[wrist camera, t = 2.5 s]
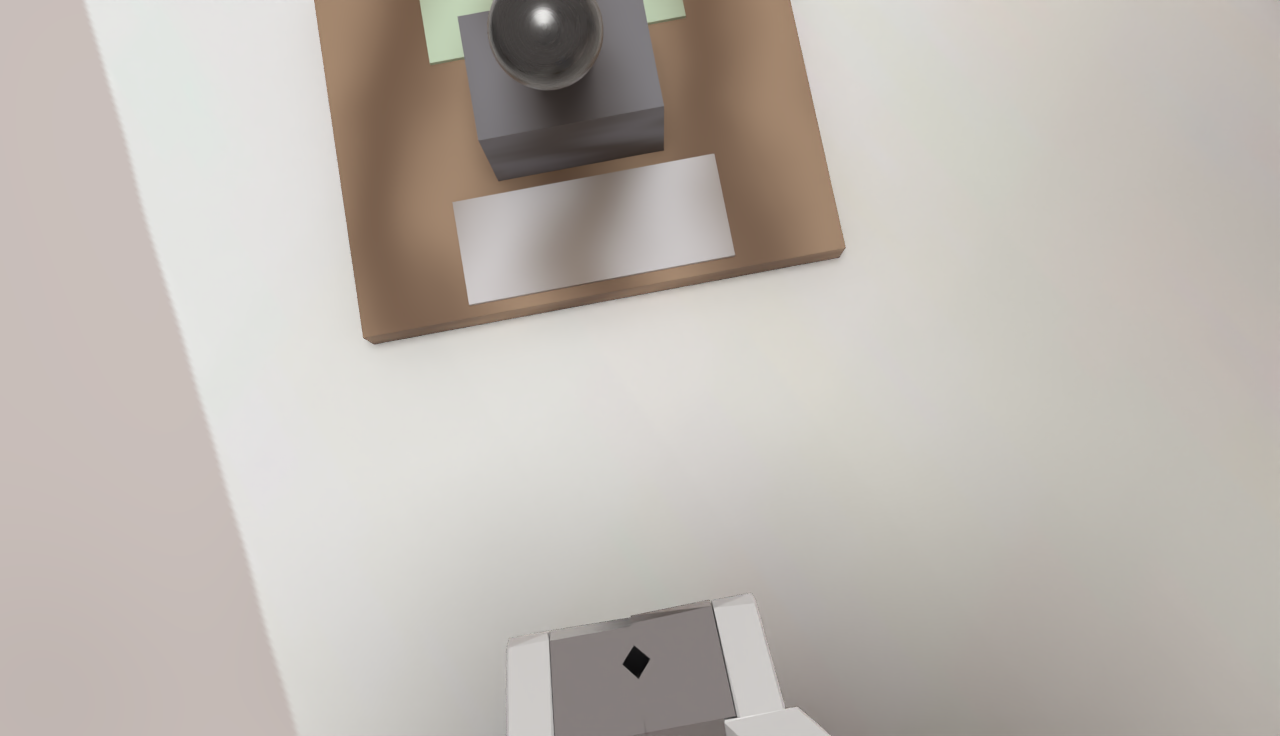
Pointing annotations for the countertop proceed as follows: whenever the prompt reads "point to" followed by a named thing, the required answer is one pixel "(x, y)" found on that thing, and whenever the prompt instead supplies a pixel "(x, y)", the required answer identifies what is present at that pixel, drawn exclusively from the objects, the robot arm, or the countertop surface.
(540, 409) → the countertop surface
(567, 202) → the switch board
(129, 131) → the countertop surface
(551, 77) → the toggle lever
